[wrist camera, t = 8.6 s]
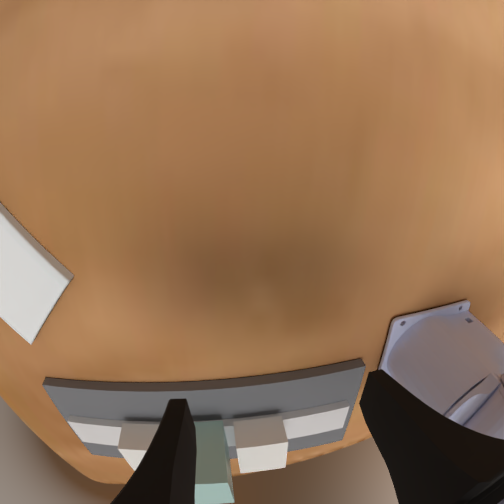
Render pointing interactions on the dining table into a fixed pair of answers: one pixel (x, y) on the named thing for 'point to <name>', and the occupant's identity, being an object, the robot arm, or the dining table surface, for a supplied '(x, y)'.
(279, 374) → the rail board
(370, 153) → the dining table surface
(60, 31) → the dining table surface
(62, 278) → the external hard drive
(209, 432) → the block
